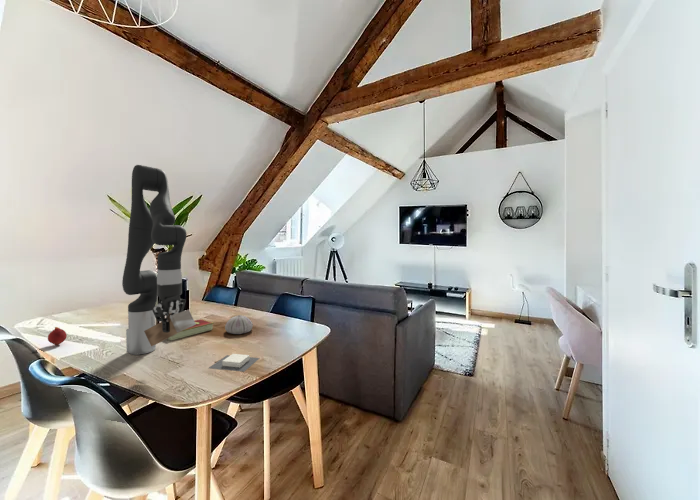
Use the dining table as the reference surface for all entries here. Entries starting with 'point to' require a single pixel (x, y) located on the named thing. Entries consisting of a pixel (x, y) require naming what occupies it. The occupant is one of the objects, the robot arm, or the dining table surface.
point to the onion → (57, 336)
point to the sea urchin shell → (238, 325)
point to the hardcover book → (194, 329)
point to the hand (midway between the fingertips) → (170, 330)
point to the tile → (235, 360)
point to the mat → (244, 367)
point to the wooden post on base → (176, 325)
